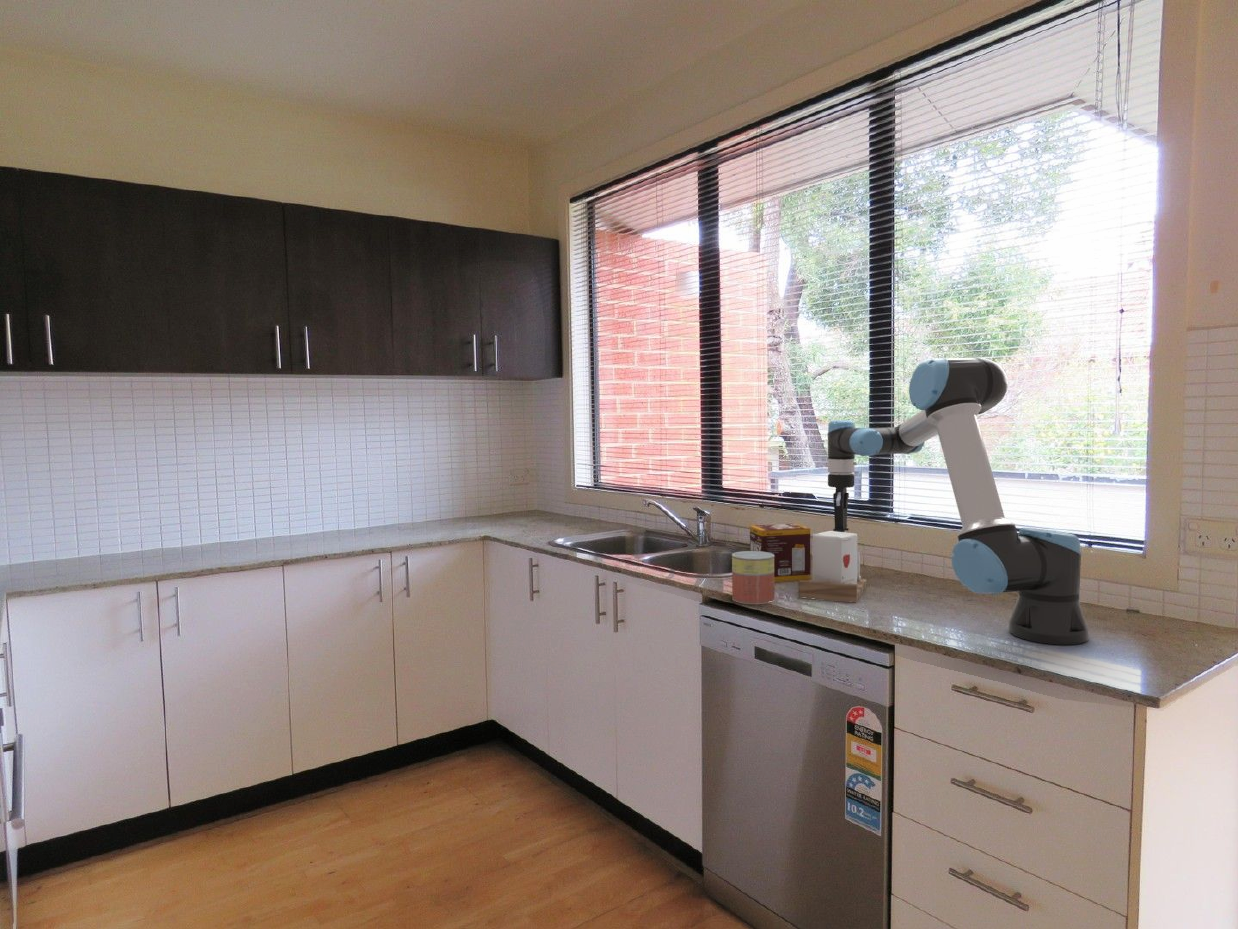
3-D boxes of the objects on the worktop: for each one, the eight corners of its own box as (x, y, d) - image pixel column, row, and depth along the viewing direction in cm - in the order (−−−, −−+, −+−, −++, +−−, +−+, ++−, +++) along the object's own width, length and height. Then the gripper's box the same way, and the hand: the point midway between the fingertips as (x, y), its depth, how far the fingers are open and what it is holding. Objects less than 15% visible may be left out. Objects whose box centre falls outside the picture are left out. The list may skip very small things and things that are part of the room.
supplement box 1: (749, 575, 232) (748, 525, 231) (796, 572, 235) (796, 522, 233) (761, 583, 222) (761, 530, 221) (811, 580, 224) (811, 527, 223)
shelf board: (856, 602, 197) (856, 585, 197) (798, 597, 203) (798, 581, 203) (866, 584, 217) (866, 569, 217) (813, 580, 223) (812, 565, 223)
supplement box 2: (841, 593, 201) (841, 537, 200) (811, 588, 207) (811, 534, 206) (858, 587, 207) (858, 533, 206) (829, 582, 213) (829, 530, 212)
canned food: (753, 592, 211) (753, 549, 210) (783, 599, 202) (783, 555, 201) (723, 598, 204) (722, 554, 204) (752, 606, 195) (752, 560, 194)
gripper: (851, 475, 214) (851, 558, 216) (857, 471, 226) (856, 549, 228) (824, 475, 217) (824, 556, 219) (831, 471, 229) (831, 548, 231)
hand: (840, 553), depth 223 cm, fingers closed
